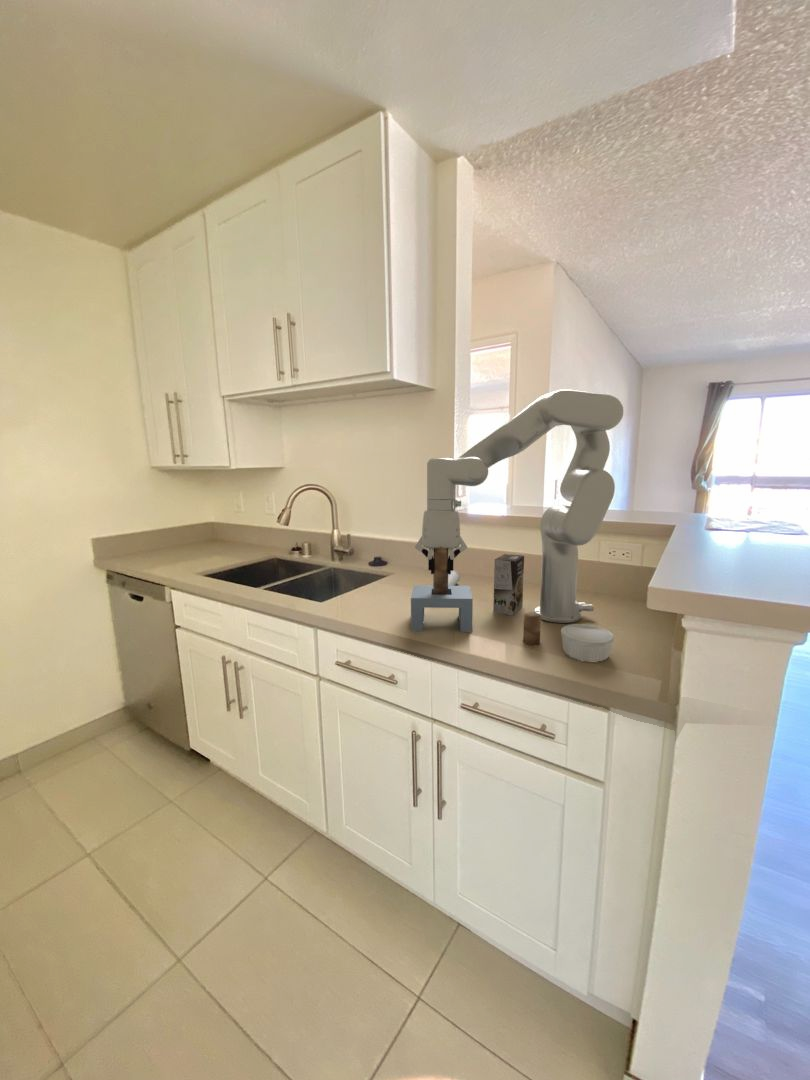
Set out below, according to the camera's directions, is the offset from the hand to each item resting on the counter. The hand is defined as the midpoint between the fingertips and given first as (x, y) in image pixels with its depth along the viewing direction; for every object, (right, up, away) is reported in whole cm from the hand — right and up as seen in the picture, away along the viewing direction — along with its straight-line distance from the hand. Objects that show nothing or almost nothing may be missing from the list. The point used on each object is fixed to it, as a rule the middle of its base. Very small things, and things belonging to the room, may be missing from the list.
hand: (440, 572), depth 117 cm
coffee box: (+21, -12, +13) cm, 28 cm away
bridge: (0, -14, +3) cm, 14 cm away
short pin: (+21, -16, -11) cm, 29 cm away
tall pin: (0, -6, +1) cm, 6 cm away
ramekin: (+32, -18, -18) cm, 41 cm away
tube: (+4, -10, +30) cm, 32 cm away
